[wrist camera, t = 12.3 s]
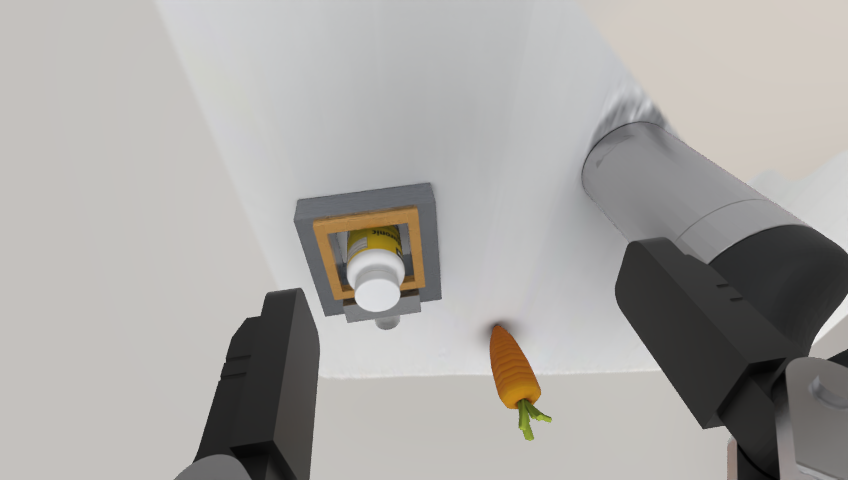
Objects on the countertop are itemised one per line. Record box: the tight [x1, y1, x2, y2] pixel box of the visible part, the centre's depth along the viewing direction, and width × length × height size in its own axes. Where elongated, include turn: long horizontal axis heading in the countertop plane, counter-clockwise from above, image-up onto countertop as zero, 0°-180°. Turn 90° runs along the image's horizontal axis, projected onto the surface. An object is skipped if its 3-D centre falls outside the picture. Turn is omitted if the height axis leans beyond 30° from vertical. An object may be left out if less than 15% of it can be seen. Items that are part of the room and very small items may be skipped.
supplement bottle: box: [347, 224, 405, 312], centre depth 39 cm, size 5×5×10 cm
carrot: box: [490, 325, 552, 441], centre depth 50 cm, size 5×5×15 cm
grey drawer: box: [294, 183, 442, 330], centre depth 43 cm, size 13×17×5 cm
